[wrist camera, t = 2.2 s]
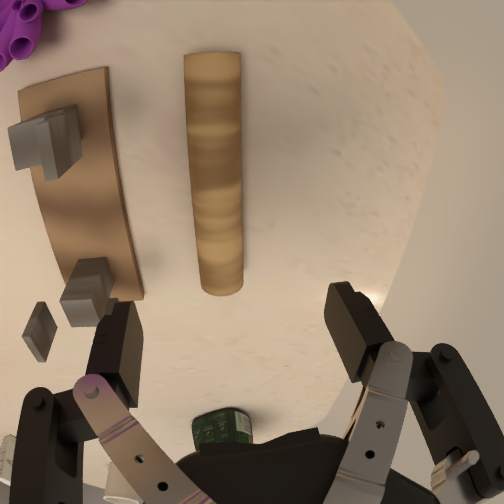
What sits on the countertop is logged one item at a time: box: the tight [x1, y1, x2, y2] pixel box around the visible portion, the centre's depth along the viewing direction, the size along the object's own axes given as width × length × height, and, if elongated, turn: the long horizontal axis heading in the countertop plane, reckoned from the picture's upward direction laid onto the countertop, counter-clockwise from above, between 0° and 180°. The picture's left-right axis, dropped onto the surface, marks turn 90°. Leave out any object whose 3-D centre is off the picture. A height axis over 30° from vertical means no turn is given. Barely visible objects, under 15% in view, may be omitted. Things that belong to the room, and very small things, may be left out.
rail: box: [184, 52, 243, 296], centre depth 25 cm, size 20×4×4 cm, turn 0°
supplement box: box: [0, 435, 16, 486], centre depth 45 cm, size 7×7×13 cm
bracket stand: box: [8, 67, 144, 362], centre depth 20 cm, size 22×8×11 cm, turn 0°
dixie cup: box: [103, 462, 139, 504], centre depth 54 cm, size 8×8×10 cm
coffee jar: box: [192, 409, 253, 451], centre depth 40 cm, size 10×8×19 cm
